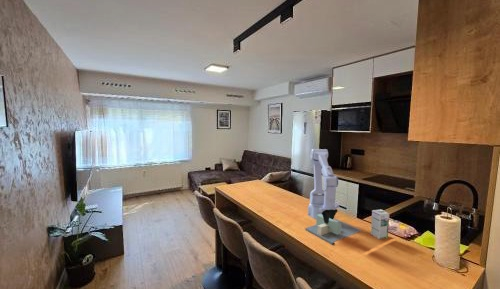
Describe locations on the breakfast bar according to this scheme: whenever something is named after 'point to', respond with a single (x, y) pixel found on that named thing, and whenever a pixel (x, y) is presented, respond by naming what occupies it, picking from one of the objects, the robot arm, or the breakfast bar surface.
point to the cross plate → (330, 224)
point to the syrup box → (380, 224)
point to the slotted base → (329, 236)
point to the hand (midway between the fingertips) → (328, 222)
